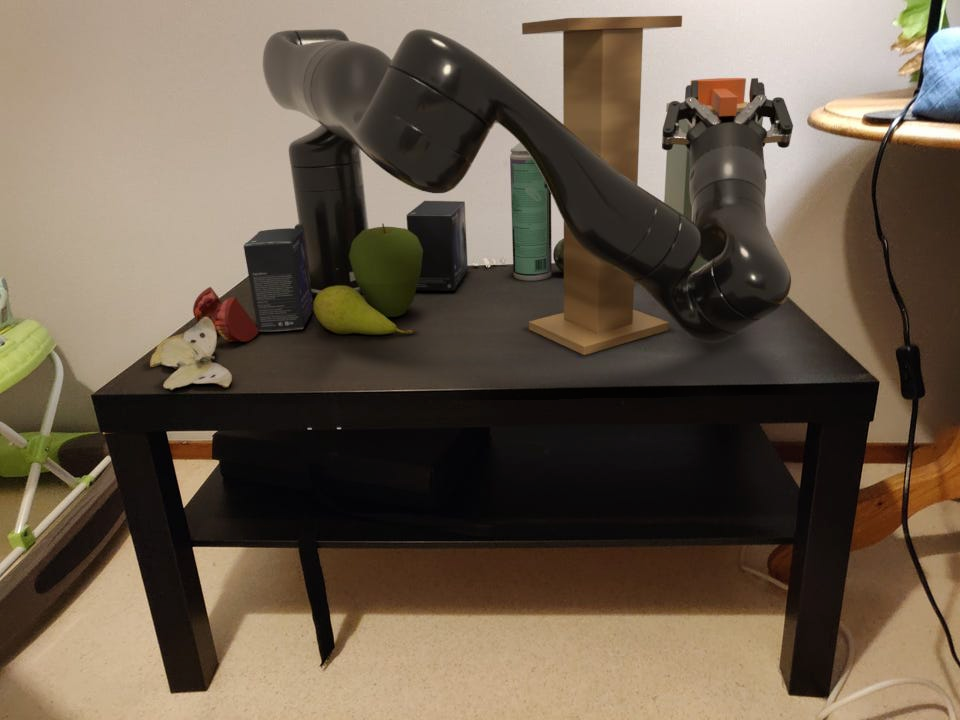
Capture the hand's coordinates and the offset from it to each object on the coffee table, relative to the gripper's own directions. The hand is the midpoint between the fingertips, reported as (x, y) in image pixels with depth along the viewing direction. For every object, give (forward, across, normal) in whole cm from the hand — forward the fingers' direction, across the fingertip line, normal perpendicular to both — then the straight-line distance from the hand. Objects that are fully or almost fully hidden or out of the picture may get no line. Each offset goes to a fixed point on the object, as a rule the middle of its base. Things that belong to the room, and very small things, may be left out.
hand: (723, 86), depth 87 cm
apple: (-26, -38, -13) cm, 48 cm away
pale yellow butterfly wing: (-39, -61, -5) cm, 73 cm away
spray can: (-9, -24, -23) cm, 35 cm away
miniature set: (-6, -34, -24) cm, 42 cm away
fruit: (-29, -46, -7) cm, 55 cm away
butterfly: (-42, -54, 0) cm, 69 cm away
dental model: (-35, -52, -6) cm, 63 cm away
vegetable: (-3, -16, -20) cm, 26 cm away
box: (-29, -51, -12) cm, 60 cm away
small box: (-13, -36, -21) cm, 44 cm away
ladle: (+1, 0, -4) cm, 4 cm away
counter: (-4, 0, -26) cm, 26 cm away
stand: (-28, -13, -12) cm, 33 cm away
